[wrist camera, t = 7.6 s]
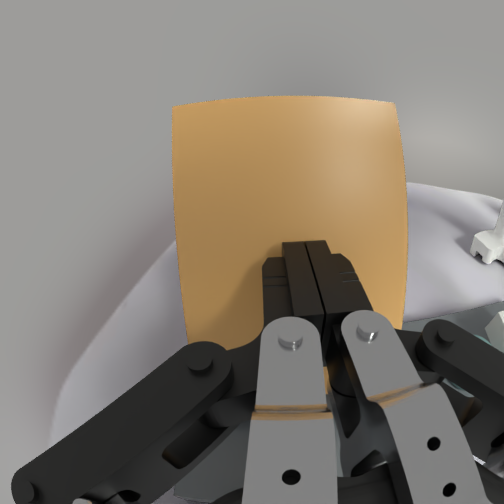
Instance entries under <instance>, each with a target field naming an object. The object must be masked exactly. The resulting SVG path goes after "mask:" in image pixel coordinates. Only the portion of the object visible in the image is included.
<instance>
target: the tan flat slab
mask: <svg viewBox="0 0 504 504" xmlns="http://www.w3.org/2000/svg"><path fill="white" fill-rule="evenodd" d="M172 167H173V168H172V169H173V196H174V215H175V231H176V244H177V256H178V266H179V276H180V285H181V294H182V302H183V310H184V318H185V325H186V332H187V339H188V344H191V343H194V342H198V341H209V342H214V343H217V344H219V345H221V346H222V347H224V348H225V349H226V350H230V349H234V348H237V347H240V346H243V345H246V344H248V343H250V342H251V341H253V340H254V339H255V338H256V337H257V336H258V335H259V334H260V333H261V331H262V329H263V325H264V314H263V286H262V265H263V264H264V262H265V261H266V259H267V258H268V257H282V242H295V241H303V242H304V241H313V240H325V241H326V242H327V245H328V247H329V249H330V251H331V254H336V253H341V254H342V255H343V256H345V257H346V258H347V259H348V260H349V261H351V263H352V265H353V267H354V269H355V273H356V274H357V276H358V278H359V281H360V282H361V284H362V286H363V288H364V290H365V292H366V295H367V297H368V299H369V301H370V303H371V305H372V308H373V310H374V312H377V313H380V314H381V315H383V316H385V317H386V318H387V319H388V320H389V321H390V323H391V324H392V326H393V328H395V329H399V330H401V329H402V322H403V314H404V304H405V293H406V280H407V259H408V212H407V191H406V178H405V167H404V158H403V150H402V143H401V135H400V129H399V123H398V117H397V112H396V107H395V103H390V102H382V101H375V100H365V99H356V98H343V97H325V96H266V97H248V98H247V97H246V98H234V99H223V100H216V101H215V100H214V101H206V102H198V103H192V104H186V105H179V106H174V107H172ZM323 371H324V381H325V393H326V403H327V407H328V409H330V410H331V412H332V413H333V411H332V407H331V403H330V399H329V396H328V392H327V380H328V377H329V375H328V370H327V367H323Z"/></svg>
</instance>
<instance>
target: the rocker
mask: <svg viewBox="0 0 504 504" xmlns="http://www.w3.org/2000/svg"><path fill="white" fill-rule="evenodd" d="M485 330H486V333H487V335H488V338H489V340H490V343H491V345H492V346H493V347H494V348H496V349H498V350H499V351H501V352H503V353H504V311H501V312H498V313H497V314H496V316H495V317H494V318H493V319H492V320H491V321H490V323H489V324H488V325H487V326H486V327H485Z"/></svg>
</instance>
